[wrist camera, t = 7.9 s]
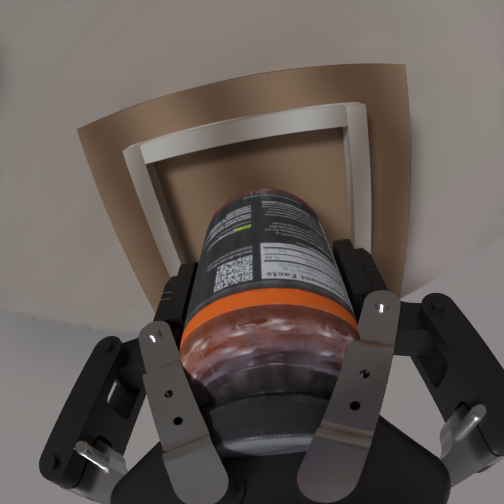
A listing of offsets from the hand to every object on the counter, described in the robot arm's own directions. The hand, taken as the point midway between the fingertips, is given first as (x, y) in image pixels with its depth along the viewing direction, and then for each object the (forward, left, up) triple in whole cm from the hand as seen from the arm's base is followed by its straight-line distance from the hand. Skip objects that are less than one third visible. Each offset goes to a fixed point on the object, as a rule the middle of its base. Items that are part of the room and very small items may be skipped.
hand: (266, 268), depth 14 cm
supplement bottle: (0, 0, -3) cm, 3 cm away
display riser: (0, 0, -10) cm, 10 cm away
